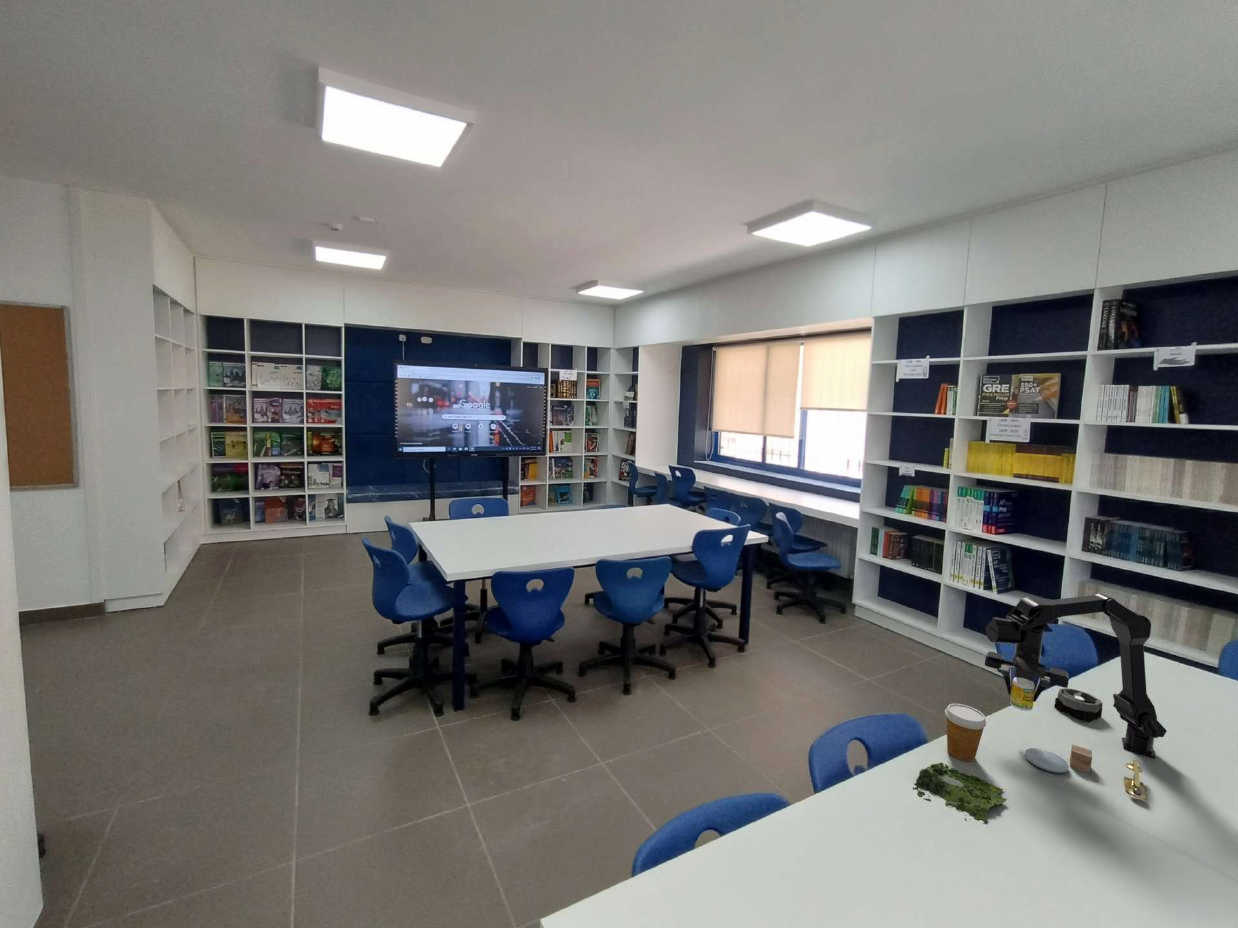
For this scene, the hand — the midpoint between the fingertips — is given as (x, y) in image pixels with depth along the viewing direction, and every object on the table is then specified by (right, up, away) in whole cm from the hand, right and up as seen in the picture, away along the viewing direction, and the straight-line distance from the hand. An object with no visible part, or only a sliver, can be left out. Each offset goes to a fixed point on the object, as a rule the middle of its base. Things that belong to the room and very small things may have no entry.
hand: (1021, 697), depth 158 cm
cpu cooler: (+29, -12, +17) cm, 36 cm away
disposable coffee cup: (-22, -12, -7) cm, 26 cm away
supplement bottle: (0, -3, 0) cm, 3 cm away
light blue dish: (-1, -13, -10) cm, 17 cm away
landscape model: (-31, -14, -23) cm, 41 cm away
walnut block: (+8, -14, -10) cm, 19 cm away
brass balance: (+15, -15, -18) cm, 28 cm away
